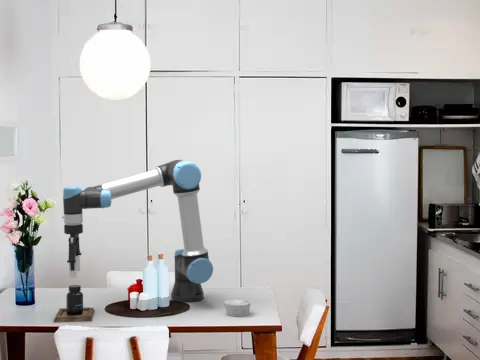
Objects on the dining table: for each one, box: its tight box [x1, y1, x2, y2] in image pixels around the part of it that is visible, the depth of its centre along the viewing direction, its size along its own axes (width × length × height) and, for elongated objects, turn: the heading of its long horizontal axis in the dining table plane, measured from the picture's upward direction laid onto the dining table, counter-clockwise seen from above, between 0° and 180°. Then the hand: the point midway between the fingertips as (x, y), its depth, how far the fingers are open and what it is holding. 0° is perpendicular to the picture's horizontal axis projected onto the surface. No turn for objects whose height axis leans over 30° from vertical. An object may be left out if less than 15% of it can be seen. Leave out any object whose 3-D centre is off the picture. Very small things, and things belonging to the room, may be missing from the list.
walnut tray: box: [53, 306, 96, 323], centre depth 301 cm, size 15×15×2 cm
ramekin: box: [224, 298, 252, 317], centre depth 306 cm, size 11×11×5 cm
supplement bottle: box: [65, 284, 84, 316], centre depth 300 cm, size 7×7×12 cm
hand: (75, 274), depth 299 cm, fingers open, 13 cm apart
